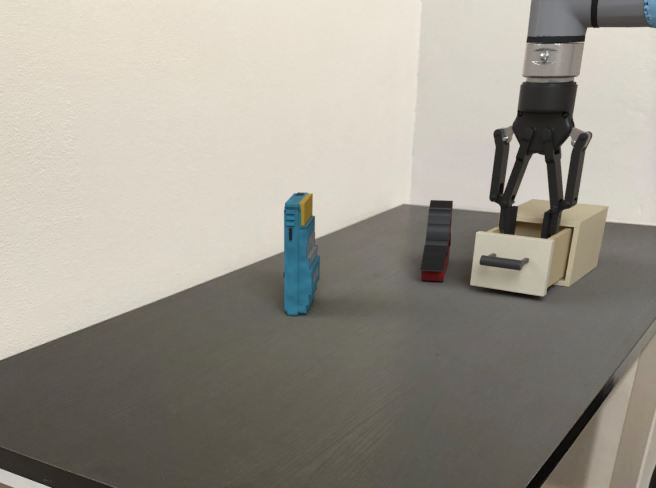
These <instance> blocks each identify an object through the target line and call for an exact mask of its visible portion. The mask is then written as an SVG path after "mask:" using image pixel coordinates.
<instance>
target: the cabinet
mask: <svg viewBox="0 0 656 488" xmlns="http://www.w3.org/2000/svg"><path fill="white" fill-rule="evenodd" d="M517 206H518V212H517V219H516V221H521V222H530V223H540V224H543V218H544V212H546V211H548V210H549V209H550V200H549V199H537V198H532V199H529V200H527V201H525V202H523V203H520V204H518V205H517ZM608 211H609V206H608V205H601V204H600V205H599V204H588V203H579V202H577V204H576V205H575V206H573V207H571V208H569V209H565V210H563V211H562V215H561V221H560V226H567V227H574V232H573V237H572V243H571V249H570V254H569V260H568V266H567V271H566V275H565V276H564V277H562V278H561V279H560V280H558V281H557V282H555V283H554V284H552V285H551V286H560V287H566V288H569V287H571V286H573V285H574V284H575V283H576V282H578V281H579V280H581V279H582V278H583V277H585V276H586V275H587V274H589V273H591V271H593V270H595V269H596V268H597V267H598V262H599V259H600V254H601V253H600V252H601V248H602V242H603V238H604V233H605V232H604V231H605V228H606V221H607V217H608ZM499 219H500V213H499V214H498V222H497V226H499Z"/></svg>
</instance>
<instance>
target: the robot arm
mask: <svg viewBox="0 0 656 488" xmlns="http://www.w3.org/2000/svg"><path fill="white" fill-rule="evenodd" d="M529 8H530V9H529V18H528V26H527V35H526V41H525V42H526V43H525V48H524V56H523V62H522V63H523V64H522V73H521V76H522V77H523V78H525V81H522V83H521V84H520V85H519V94H518V103H517V109H516V110H517V113H516V117H515V119H514V121H513V122H512V124H511V125H508V126H505V127H500V128H497V129H495V130H494V131H493V139H494V146H495V149H494V157H493V165H492V171H491V172H492V173H491V180H490V186H489V187H490V188H489V196H488V199H489V201H490V202H492V203H495V204H498V205H499V207H500V211H499V214H500V219H499V218H498V221H499V229H503V230H504V233H503V234H509V235H514V234H515V226H516V219H517V212H518V205H514V204H515V203H516V201H515V200H516V196H517V195H518V193H519V189H520V187H521V185H522V181H523V179H524V176H525V173H526V171H527V168H528V166H529V162H530V160H531V159H532V157H533V155H534V154H535V155H536V154H538V155H541V156H544V162H545V164H546V173H547V174H546V176H547V186H548V188H547V189H548V197H549V199H548V201H550V209H549V210H548V211H546V212H544V218H543V224H542V231H541V237H540V238H542V239H548V238H550V237H551V236H552V235H555V234H557V233H558V231H559V227H560V221H561V215H562V211H563V210H565V209H569V208H571V207H573V206H575V205H576V204H577V203H578V200H579V194H580V188H581V183H582V175H583V170H584V169H583V168H584V164H585V163H584V161H585V158H586V157H585V156H586V150H587V148H588V146H589V145H590V143H591V141H592V138H593V132H591V131H585V130H582V129H579V128H578V127H576V124H575V121H574V110H575V105H576V99H577V93H578V88H579V87H578V86H579V84H578V83H577V81H575V78H578V77H579V76H580V74H581V68H582V62H583V55H584V48H585V42H586V34H587V32H588V31H587V30H588V29H590V28H591V29H592V28H593V29H600V28H651V29H656V0H530V7H529ZM513 136H514V137H515V139H516V141H517V142H518V144H519V147H518V150H517V153H516V155H515V161H514V164H513V166H512V169H511V172H510V174H509V176H508V179H507V183H506V176H507V171H508V163H509V161H508V160H509V154H510V147H511V146H510V145H511V144H510V143H511V142H512V141H513ZM569 138H571V139H570V140H571V141H570V145H571V147H572V150H571V153H570V157H569V158H570V159H569V166H568V172H567V178H566V184H565V185H566V186H565V190H564V185H563V172H562V171H563V170H562V146H563V145H564V143H565V142H567V140H568V139H569ZM505 184H506V186H505ZM564 191H565V192H564Z"/></svg>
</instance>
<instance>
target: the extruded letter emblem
mask: <svg viewBox="0 0 656 488" xmlns="http://www.w3.org/2000/svg"><path fill="white" fill-rule="evenodd" d="M453 207H454V200H444V199H441V200H440V199H436V200H435V199H430V201H429V207H428V215H427V223H426V233H425V243H424V247H423V252H422V258H421V263H420V264H421V265H420V271H421V274H420V275H421V277H420V280H421V281H424V282H444V279H445V275H446V273H447V268H448V264H449V260H450V251H451V246H452V244H451V243H452V231H451V230H452V223H453V222H452V220H453V211H454V210H453Z"/></svg>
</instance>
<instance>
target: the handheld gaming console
mask: <svg viewBox="0 0 656 488" xmlns="http://www.w3.org/2000/svg"><path fill="white" fill-rule="evenodd" d="M313 196H314V195H313V193H309V192H306V191H305V192H304V191H303V192H299V191H298V192H294V193H293V194H292V195H290V197H289V198H288V199H286V201H285V202H284V208H283V269H284V270H283V281H284V283H283V284H284V296H283V297H284V299H283V301H284V302H283V303H284V312H285V314H286V316H289V317H298V316H300V315H302V316H307V314H308V312H309V310H310V308H311V306H312V304H313V302H314V301H315V294H316V292H317V290H318V283H319V281H320V279H321V278H320V274H321V271H320V270H321V256H320V255H318V247H319V246H318V245H317V244H316V216H315V215H313V209H314V208H313V202H314V201H313V199H314V197H313Z"/></svg>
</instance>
